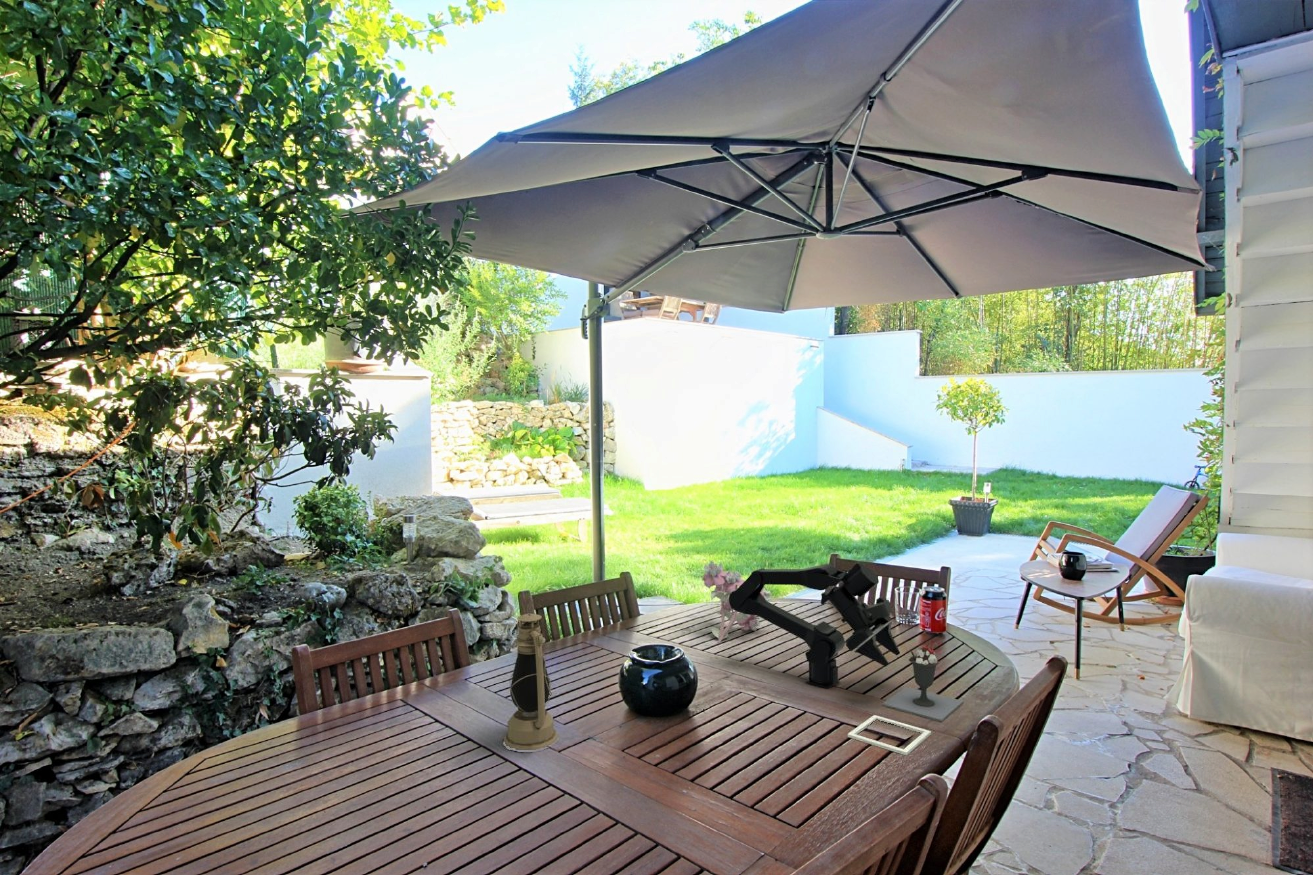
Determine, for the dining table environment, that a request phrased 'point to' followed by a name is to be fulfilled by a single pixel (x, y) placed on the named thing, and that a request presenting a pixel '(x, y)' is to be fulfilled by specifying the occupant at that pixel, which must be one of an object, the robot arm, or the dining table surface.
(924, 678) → the sundae
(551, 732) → the lantern
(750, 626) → the flower
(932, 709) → the mat
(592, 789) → the dining table surface
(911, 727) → the stand rim
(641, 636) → the dining table surface
